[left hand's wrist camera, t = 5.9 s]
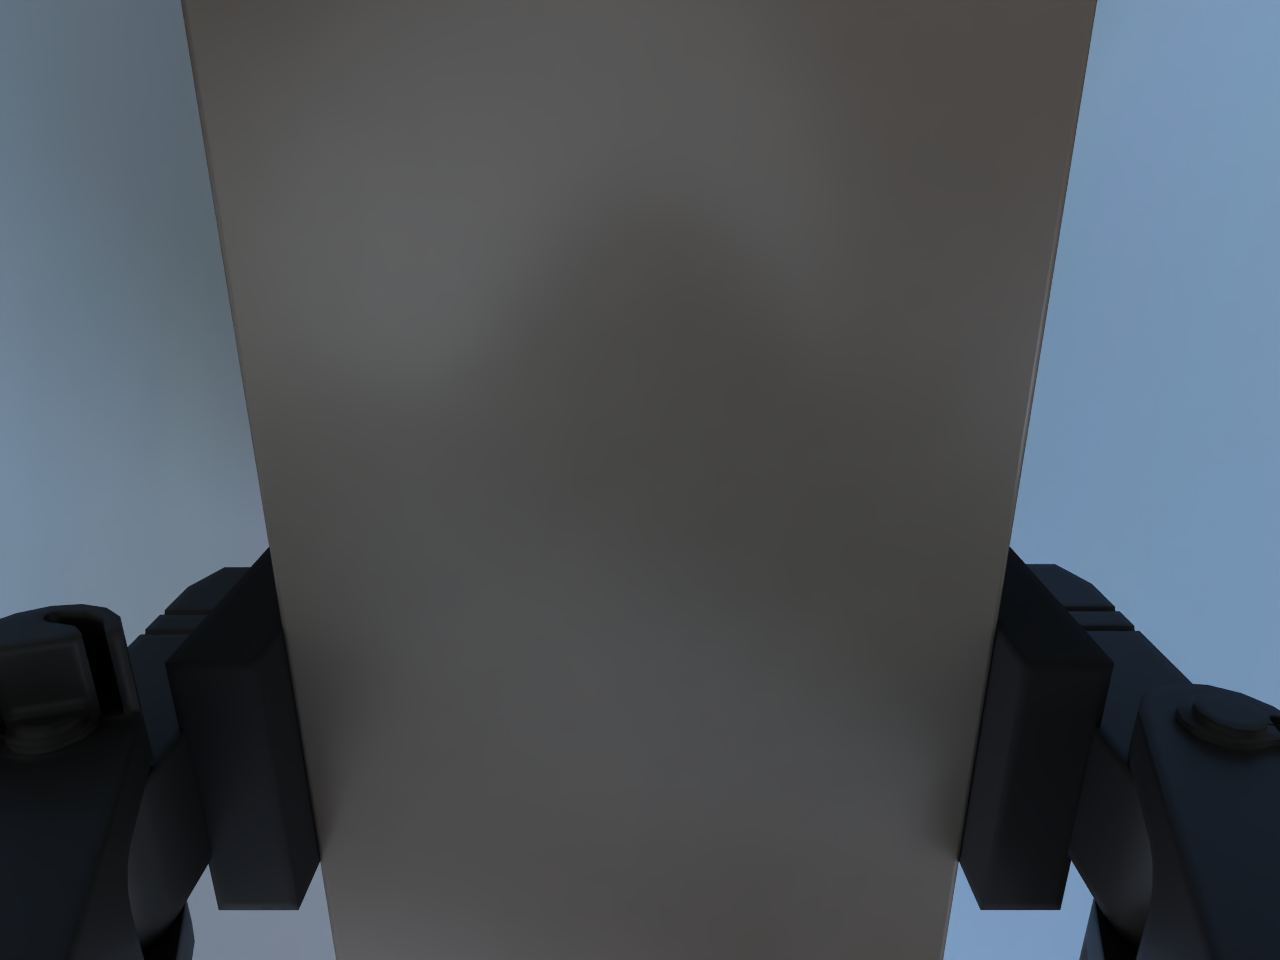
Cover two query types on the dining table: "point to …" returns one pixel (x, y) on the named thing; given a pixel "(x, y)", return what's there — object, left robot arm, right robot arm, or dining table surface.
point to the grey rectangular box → (639, 447)
